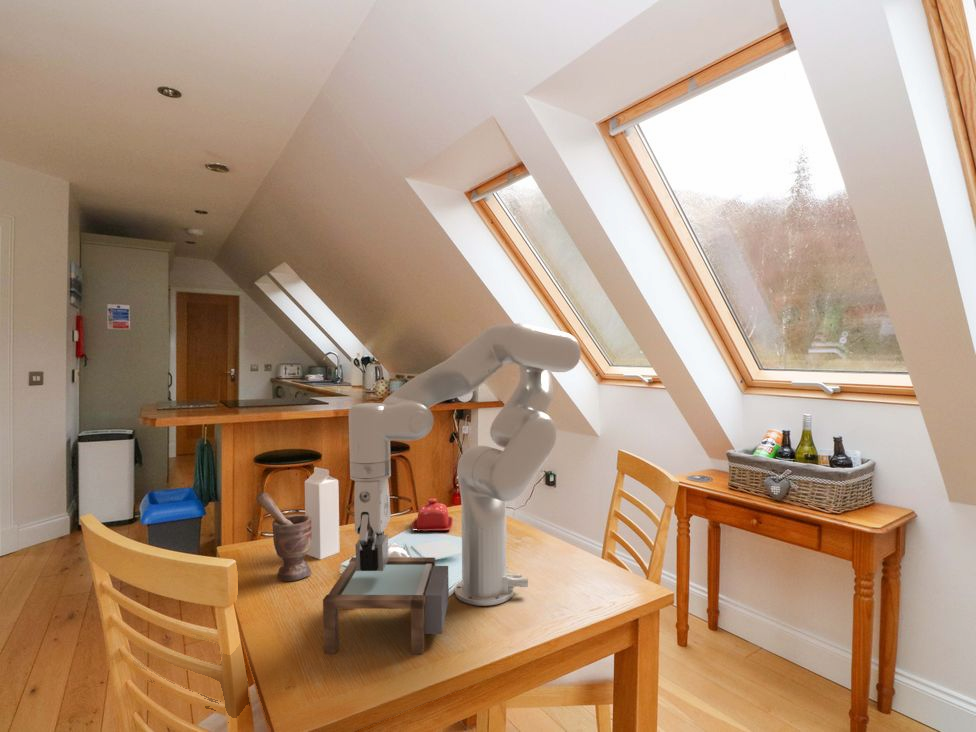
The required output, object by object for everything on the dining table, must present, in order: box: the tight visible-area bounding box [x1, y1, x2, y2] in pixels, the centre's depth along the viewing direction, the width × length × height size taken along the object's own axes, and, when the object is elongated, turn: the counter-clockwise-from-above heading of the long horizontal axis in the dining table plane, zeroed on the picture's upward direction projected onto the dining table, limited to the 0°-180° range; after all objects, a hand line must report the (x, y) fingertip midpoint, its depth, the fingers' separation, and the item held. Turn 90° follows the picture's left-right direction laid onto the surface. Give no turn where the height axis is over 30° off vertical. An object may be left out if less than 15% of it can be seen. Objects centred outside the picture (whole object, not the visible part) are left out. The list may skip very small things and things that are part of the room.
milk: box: [304, 466, 340, 560], centre depth 142 cm, size 6×6×22 cm
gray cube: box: [354, 534, 389, 571], centre depth 105 cm, size 5×5×5 cm
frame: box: [322, 556, 436, 655], centre depth 105 cm, size 17×19×10 cm
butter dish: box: [411, 497, 453, 532], centre depth 162 cm, size 12×12×8 cm
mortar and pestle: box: [256, 491, 312, 582], centre depth 128 cm, size 12×9×20 cm
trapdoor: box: [341, 564, 450, 635], centre depth 105 cm, size 18×15×7 cm
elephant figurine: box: [388, 543, 414, 557], centre depth 131 cm, size 7×8×6 cm
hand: (372, 562), depth 105 cm, fingers closed on gray cube, 5 cm apart
